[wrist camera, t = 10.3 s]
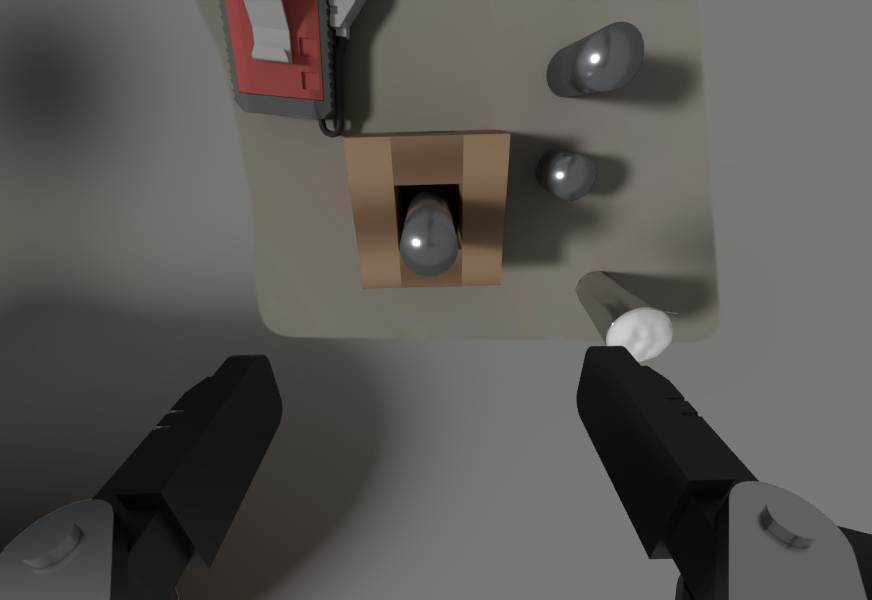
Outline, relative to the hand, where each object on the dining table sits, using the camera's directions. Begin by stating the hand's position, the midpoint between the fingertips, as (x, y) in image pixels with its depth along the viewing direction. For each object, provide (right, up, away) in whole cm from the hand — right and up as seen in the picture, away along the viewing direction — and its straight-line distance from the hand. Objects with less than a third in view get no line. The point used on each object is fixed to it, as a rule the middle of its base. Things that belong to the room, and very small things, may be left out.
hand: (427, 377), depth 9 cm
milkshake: (+15, +4, +23) cm, 28 cm away
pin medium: (+10, +18, +16) cm, 26 cm away
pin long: (0, +10, +20) cm, 22 cm away
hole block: (0, +10, +20) cm, 22 cm away
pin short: (+10, +12, +19) cm, 24 cm away
